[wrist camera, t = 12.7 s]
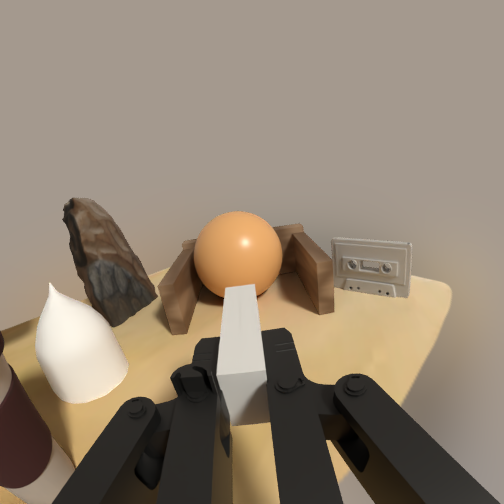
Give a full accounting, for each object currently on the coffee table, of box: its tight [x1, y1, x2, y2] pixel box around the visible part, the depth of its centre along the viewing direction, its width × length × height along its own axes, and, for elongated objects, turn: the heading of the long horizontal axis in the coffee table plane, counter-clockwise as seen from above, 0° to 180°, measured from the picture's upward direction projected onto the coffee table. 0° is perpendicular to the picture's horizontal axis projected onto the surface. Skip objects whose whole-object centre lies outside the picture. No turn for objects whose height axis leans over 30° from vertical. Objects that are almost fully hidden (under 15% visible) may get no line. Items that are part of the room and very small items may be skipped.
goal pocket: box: [158, 224, 334, 335], centre depth 41 cm, size 21×18×8 cm
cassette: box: [331, 237, 412, 298], centre depth 36 cm, size 12×2×8 cm, turn 49°
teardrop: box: [35, 282, 129, 403], centre depth 24 cm, size 11×11×12 cm
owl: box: [62, 198, 158, 327], centre depth 40 cm, size 13×13×20 cm
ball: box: [194, 211, 282, 298], centre depth 41 cm, size 13×13×13 cm
